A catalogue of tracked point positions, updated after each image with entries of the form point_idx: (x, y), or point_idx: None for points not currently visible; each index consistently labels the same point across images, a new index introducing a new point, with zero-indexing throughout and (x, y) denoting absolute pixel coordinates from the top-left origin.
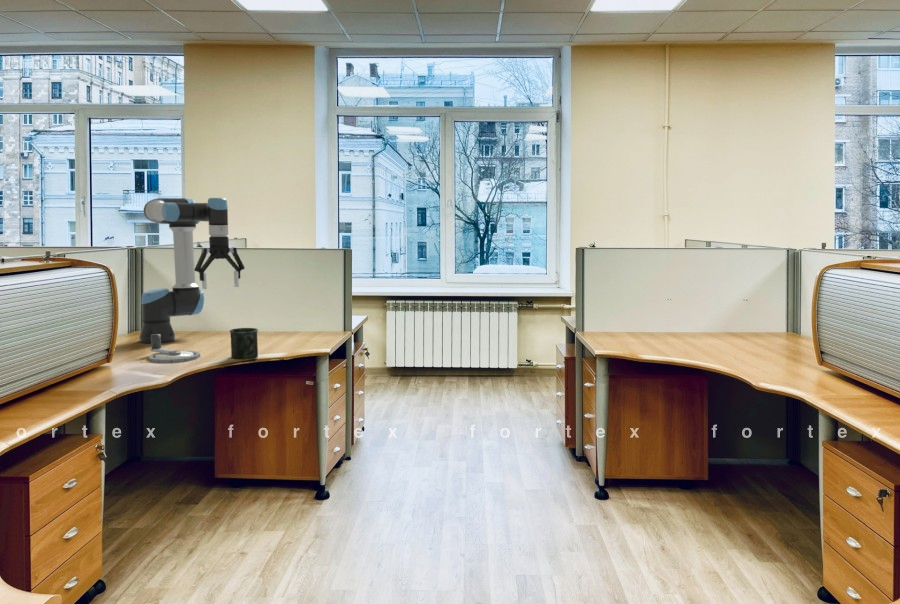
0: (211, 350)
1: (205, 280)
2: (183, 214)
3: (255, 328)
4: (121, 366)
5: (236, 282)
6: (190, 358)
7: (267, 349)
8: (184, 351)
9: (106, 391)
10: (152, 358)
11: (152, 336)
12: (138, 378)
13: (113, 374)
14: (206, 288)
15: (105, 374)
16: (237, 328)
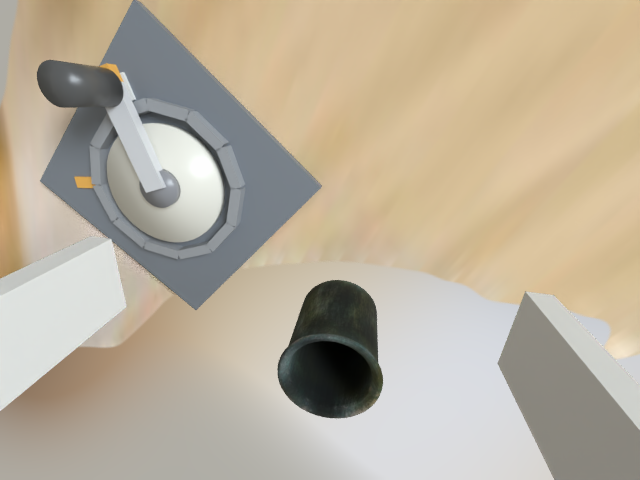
0: (344, 74)
1: (20, 382)
2: None
3: (380, 385)
4: (33, 145)
5: (529, 406)
6: (196, 254)
7: (504, 218)
8: (202, 157)
9: None
10: (97, 192)
11: (49, 95)
12: None
13: (22, 233)
14: (120, 309)
15: (4, 219)
16: (329, 340)
